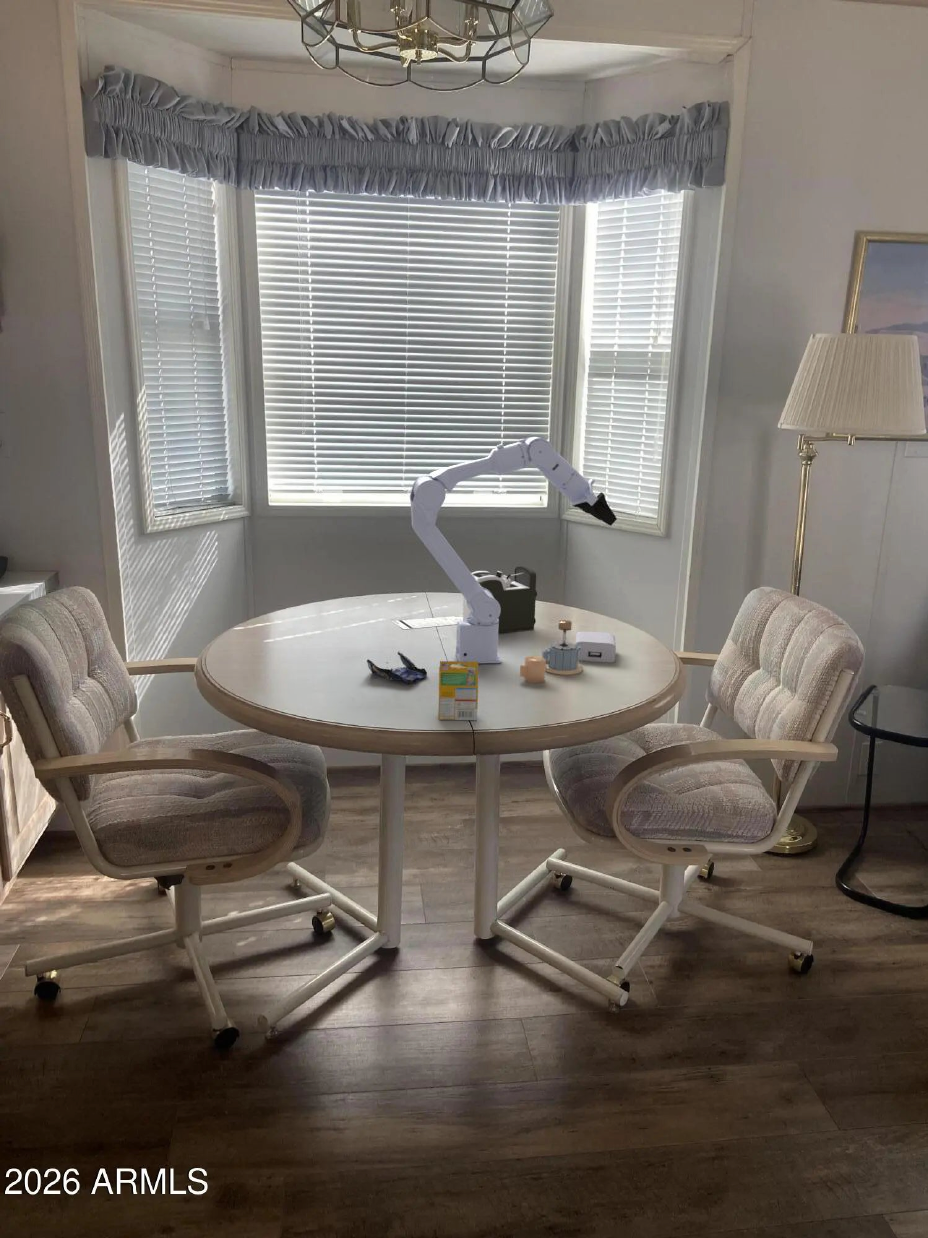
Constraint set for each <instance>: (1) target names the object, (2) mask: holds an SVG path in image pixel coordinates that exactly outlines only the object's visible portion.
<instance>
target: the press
mask: <svg viewBox="0 0 928 1238" xmlns="http://www.w3.org/2000/svg"><path fill="white" fill-rule="evenodd" d="M562 642H563V641H557V642H556V641H554V642H552V643H551V644H549V645H548V649H542V650H541V657H543V658H545V659H546V666H545V672H547V673H550V674H553V675H560V676H571V675H578V674H581V673H582V672H583V670H584V668H583V665H582V664H580V663H579V660H578V652H579V650H581V647H580V646H577V645H576V644H575V643H573V642H571V641H570V642H569V641H567V642H566V645H565V647H563V646H562Z"/></svg>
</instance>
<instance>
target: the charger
mask: <svg viewBox="0 0 928 1238" xmlns="http://www.w3.org/2000/svg"><path fill="white" fill-rule="evenodd" d="M574 644H576V645H577V646H580V647H581V650H579V652H578V661H582V660H587V661H586V662H596V661H597V662H601V663H614V662H615V660H616V652H617V651H616V649H617V645H616V636H615V635H614V634H613V633H609V632H600V631H596V632H595V631H577V632H576V634H575V642H574Z"/></svg>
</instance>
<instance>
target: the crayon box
mask: <svg viewBox="0 0 928 1238" xmlns="http://www.w3.org/2000/svg"><path fill="white" fill-rule="evenodd" d="M458 664H459V665H462V666H456V665H458ZM478 693H479V663H478V662H464V661H463V662H462V661H459V660H458V661H456V660H455V661H451V660H450V661H449V660H447V661H445V660H444V661H443V660H440V661H439V669H438V711H437V712H438V714H437V715H438V717H437V718H438V721H449V720H450V721H475V722H476V721H477V720H478V703H479V702H478V700H479V699H478V698H479V694H478Z"/></svg>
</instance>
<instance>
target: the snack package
mask: <svg viewBox="0 0 928 1238" xmlns="http://www.w3.org/2000/svg"><path fill="white" fill-rule="evenodd" d="M397 655H398V656H399V659H400V661H401V663H402V665H404V667H395V668H390V669H388V668H389V667H388V666H387V667H386V668H381V667H378V666H377V665H376V664H375V663H374V662H373V661H371V660H370V659H367V660H366V662H367V668H368V669H369V670H370V672H371V675H372V674H377V675H379V676H382V677H385V679H386V678H387V679H388V680H390V681H391V680H393V681H403V682H405V683H407V684H408V685H409V684H410V683H411V682H413V681H416V683H417V681H418V682H419V681H423V680H424V679H425V678H426V677H427V675H428V672H427V671H426V669H425V668H424V667H423V668H419V667H417V666H416V664H415V663H413V661H412V660H411V659H409V658H408V657H407V656H405V655H404V654H403V653H402V652H400V651H397ZM386 664H389V662H387V661H386Z"/></svg>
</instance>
